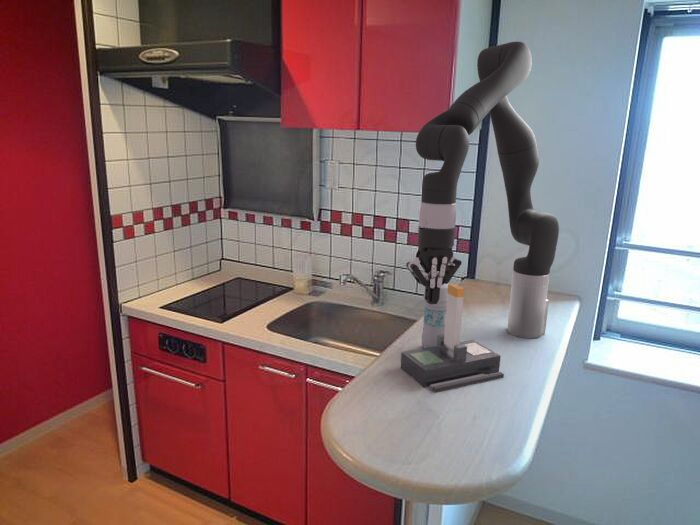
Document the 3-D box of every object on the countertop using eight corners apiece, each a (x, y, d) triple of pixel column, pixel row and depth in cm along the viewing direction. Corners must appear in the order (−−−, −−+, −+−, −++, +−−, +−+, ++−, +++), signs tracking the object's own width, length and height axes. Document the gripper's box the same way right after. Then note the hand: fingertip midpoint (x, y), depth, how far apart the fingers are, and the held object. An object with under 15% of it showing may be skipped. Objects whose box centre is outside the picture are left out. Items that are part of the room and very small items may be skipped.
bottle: (447, 355, 128) (452, 276, 123) (419, 352, 129) (424, 274, 124) (447, 344, 134) (453, 269, 129) (421, 342, 135) (425, 267, 131)
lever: (448, 346, 121) (453, 283, 117) (460, 353, 117) (465, 288, 113) (442, 347, 120) (447, 283, 116) (453, 354, 116) (458, 289, 113)
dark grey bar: (497, 373, 118) (497, 370, 118) (503, 377, 117) (503, 374, 116) (429, 388, 111) (430, 384, 111) (435, 392, 109) (435, 388, 109)
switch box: (471, 355, 128) (474, 327, 126) (499, 371, 119) (501, 342, 118) (400, 368, 120) (402, 339, 118) (424, 387, 111) (426, 356, 109)
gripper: (452, 219, 115) (447, 295, 119) (400, 222, 110) (396, 301, 114) (474, 225, 108) (467, 305, 113) (419, 228, 103) (414, 312, 107)
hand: (431, 303), depth 113 cm, fingers closed
